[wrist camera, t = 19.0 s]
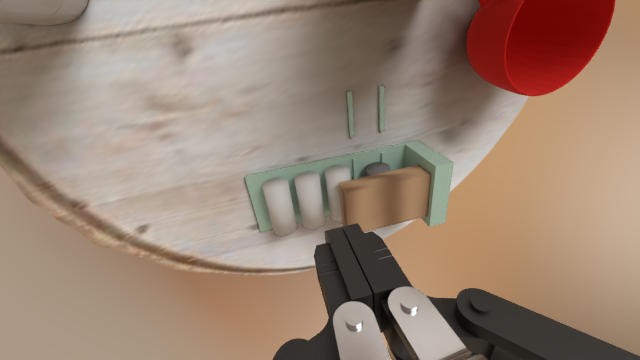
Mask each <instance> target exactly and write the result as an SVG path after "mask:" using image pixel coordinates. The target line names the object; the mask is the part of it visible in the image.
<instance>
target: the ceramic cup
mask: <svg viewBox="0 0 640 360" xmlns="http://www.w3.org/2000/svg"><path fill="white" fill-rule="evenodd" d="M479 3H480V5H481V7H480V8H479V10H478V11H477V13H476V14H475V16H474V18H473V20H472V22H471V24H470V26H469V29H468V32H467V37H466V48H467V55H468V58H469V61H470V63H471V65H472V67H473V68H474V70H475V71H476V72H477V73H478V74H479V75H480V76H481V77H482V78H483V79H485V80H486V81H487V82H489V83H491V84H493V85H495V86H498V87H500V88H502V89H505V90H507V91H510V92H513V93H517V94H521V95H527V96H539V95H544V94H548V93H550V92H553V91H555V90H557V89H559V88H560V87H562V86H564V85H565V84H567V83H568V82H569V81H570V80H572V79H573V78H574V77H575V76H576V75H577V74H578V73H579V72H581V70H582V69H583V68H584V67H585V66H586V65H587V64H588V62H589V61H590V60H591V59H592V57H593V56H594V54H595V53H596V51H597V50H598V48H599V46H600V45H601V43H602V41H603V39H604V37H605V35H606V33H607V30H608V27H609V25H610V23H611V19H612V16H613V12H614V7H615V0H479Z"/></svg>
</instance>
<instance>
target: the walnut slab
mask: <svg viewBox="0 0 640 360" xmlns="http://www.w3.org/2000/svg"><path fill="white" fill-rule="evenodd" d="M430 182H431V174H430V173H429V172H428V171H426V170H425V169H424V168H423V167H421V166H420V165H416V166H412V167H407V168H403V169H398V170H394V171H389V172H385V173H380V174H376V175H371V176H367V177H362V178H358V179H353V180H348V181H344V182H339V183H338V184H339V194H340V204H341V214H342V223H343V225H344V226H347V225H351V224H355V223H358V224H359V225H360V227H361V229H362V231H363V232H365V231H369V230H373V229H377V228H381V227H385V226H389V225H393V224H397V223H401V222H405V221H409V220H413V219H417V218H421V217H425V216H427V212H428V202H429V192H430Z"/></svg>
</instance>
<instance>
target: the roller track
mask: <svg viewBox="0 0 640 360" xmlns="http://www.w3.org/2000/svg"><path fill="white" fill-rule="evenodd" d="M374 162H383V163H386V164H388V165H389V166H390V171H394V170H398V169H403V168H407V167H412V166H416V165H420V166H421V167H423V168H424V169H425V170H426V171H428V172H429V173H430V174H431V182H430V192H429V202H428V212H427V216H425V217H421V218H422V219H423V220H424V221H425V223H427V225H428V226H429V227H431V226H435V225H438V224H442V223H445V219H446V212H447V205H448V198H449V191H450V184H451V177H452V170H453V163H454V162H452V161H451V160H449V159H447V158H446V157H444V156H443V155H441V154H440V153H438V152H436V151H435V150H433V149H432V148H430V147H429V146H427V145H425V144H424V143H422V142H421V141H419V140H415V141H411V142H406V143H401V144H396V145H391V146H387V147H382V148H377V149H372V150H367V151H362V152H358V153H353V154H348V155H343V156H338V157H334V158H329V159H324V160H319V161H314V162H309V163H305V164H300V165H295V166H290V167H285V168H280V169H276V170H271V171H266V172H261V173H256V174H252V175H247V176H245V181H246V184H247V187H248V191H249V194H250V198H251V201H252V204H253V208H254V211H255V214H256V218H257V221H258V225H259V228H260V231H261V232H263V231H267V230H271V229H274V233H275V234H276V235H278V236H288V235H290V234H292V233H294V232H295V231H296V229H297V223H301V222H302V223H303V226H304V227H305V228H308V229H317V228H320V227H321V226H323V225H324V223H325V217H326V216H330V217H331V219H332V220H333V221H336V222H342V214H341V204H340V194H339V184H338V183H339V182H344V181H348V180H353V179H358V178H362V177H366V166H367V165H368V164H370V163H374Z"/></svg>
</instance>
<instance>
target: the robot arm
mask: <svg viewBox="0 0 640 360" xmlns="http://www.w3.org/2000/svg"><path fill="white" fill-rule="evenodd" d="M87 3H88V0H0V23H18V24H41V25H57V24H64V23H67V22H70V21H72V20H74V19H75V18H77V17H78V16H79V15H81V13H82V12H83V11H84V9H85V8H86V6H87ZM325 239H326V243H325V244H321V245H317V246H316V249H315V254H314V258H315V264H316V269H317V275H318V280H319V284H320V287H321V291H322V294H323V298H324V302H325V305H326V309H327V313H328V316H329V319H328V323H327V324H326V326H325V327H324V329H323V330H322V331H321V332H320V333H318V334H317V335H316V336H314V337H313V338H312V339H310V340H309V341H307V340H305V339H293V340H290V341H288V342H286V343H285V344H283V345H282V346H281V347H280V349H279V350H278V351H277V353H276V355H275V356H274V358H273V360H390V357H391V359H392V360H640V356H638V355H635V354H633V353H630V352H628V351H626V350H623V349H621V348H619V347H616V346H614V345H612V344H609V343H607V342H604V341H602V340H600V339H597V338H595V337H593V336H590V335H588V334H586V333H583V332H581V331H578V330H576V329H573V328H571V327H569V326H567V325H564V324H562V323H560V322H557V321H555V320H553V319H550V318H548V317H545V316H543V315H541V314H538V313H536V312H534V311H531V310H529V309H526V308H524V307H522V306H519V305H517V304H515V303H512V302H510V301H508V300H505V299H503V298H501V297H498V296H496V295H493V294H491V293H489V292H486V291H484V290H481V289H476V288H469V289H465V290H462V291H461V292H460V293H459V294H458V296H457V299H454V298H433V297H429V296H426V295H425V294H424V293H423V292H421V291H420V290H418V289H416V288H414V287H413V286H412V285H411V284H410V282H409V281H408V279H407V277H406V276H405V274H404V273H403V271H402V270H401V268H400V267H399V265H398V263H397V262H396V260H395V259H394V257H393V256H392V254H391V252H390V251H389V249H387V246H386V245H385V243H384V242H383V240H382V238H380V237H379V236H378V235H376V234H375V233H373V232H368V233H365V234H364V233H363V231H362V229H361V227H360V225H359V224H358V223H355V224H351V225H347V226H343V227H339V228H335V229H331V230H327V231H325ZM382 332H383V333H384V335H385V338H386V340H387V342H388V343H387V347H388V352H387V349H386V346H385V344H384V341H383V338H382V335H381V333H382ZM388 353H389V355H390V357H389V355H388Z"/></svg>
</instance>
